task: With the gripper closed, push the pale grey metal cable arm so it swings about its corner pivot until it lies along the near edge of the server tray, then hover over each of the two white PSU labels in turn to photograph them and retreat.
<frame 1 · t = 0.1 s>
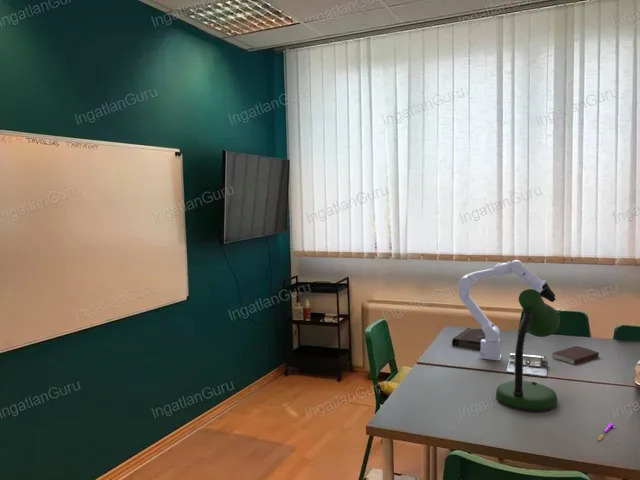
hand: (554, 299, 244), 32 cm above the table, tool tilted 50°, fingers open, 7 cm apart
cable arm: (528, 357, 248), point 3 cm above the table, hinge at 0.0°
purple handled tool: (607, 435, 178), on the table
diary: (475, 343, 285), on the table
book: (575, 358, 256), on the table
server tray: (527, 368, 243), on the table
desk lamp: (530, 397, 210), on the table
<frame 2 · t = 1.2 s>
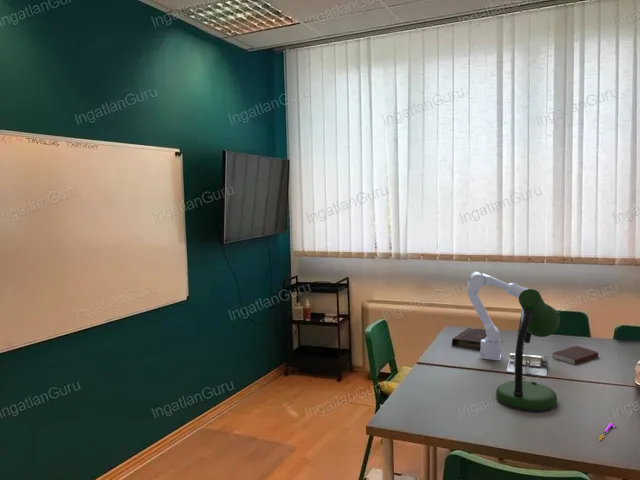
hand: (527, 340, 254), 9 cm above the table, tool pointing down, fingers open, 7 cm apart
nothing on the table moved.
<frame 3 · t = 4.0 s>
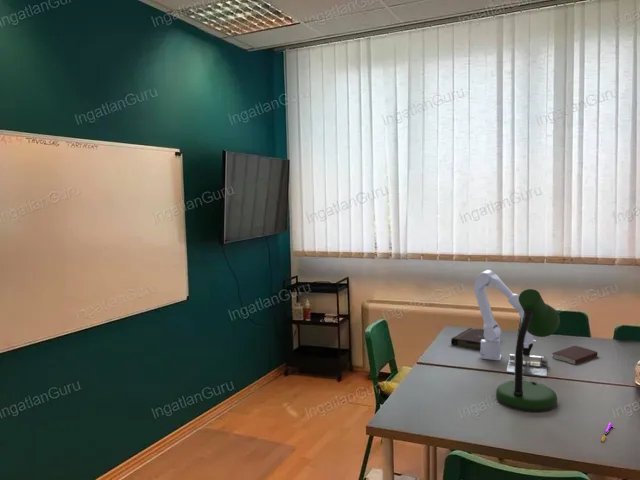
hand: (526, 358, 249), 3 cm above the table, tool pointing down, fingers closed, pressing on cable arm
cable arm: (528, 358, 247), point 3 cm above the table, hinge at 5.1°, touching gripper
everything else where it was.
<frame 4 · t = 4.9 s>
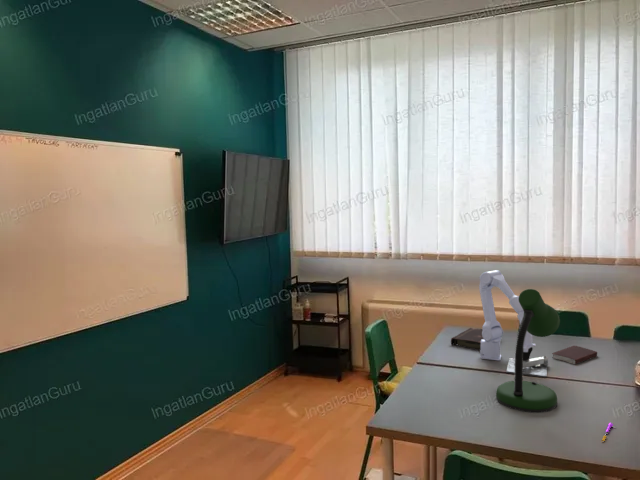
hand: (525, 362, 243), 3 cm above the table, tool pointing down, fingers closed, pressing on cable arm
cable arm: (533, 361, 242), point 3 cm above the table, hinge at 48.4°, touching gripper
everything else where it was.
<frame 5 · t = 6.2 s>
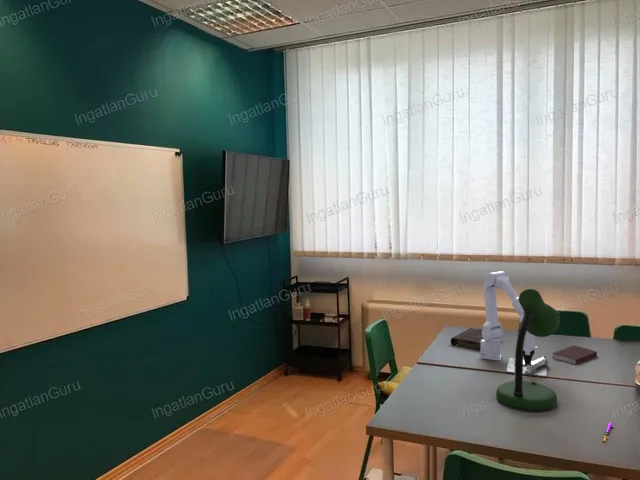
hand: (527, 365, 239), 3 cm above the table, tool pointing down, fingers closed, pressing on cable arm
cable arm: (537, 362, 240), point 3 cm above the table, hinge at 65.2°, touching gripper
everything else where it was.
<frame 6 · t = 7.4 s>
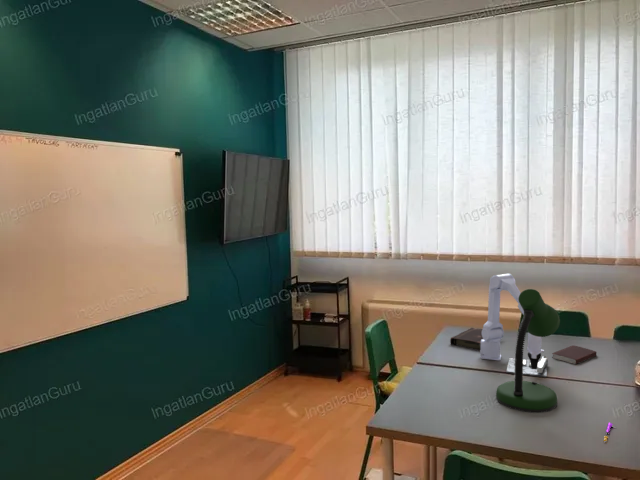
hand: (534, 368, 234), 3 cm above the table, tool pointing down, fingers closed, pressing on cable arm
cable arm: (542, 363, 239), point 3 cm above the table, hinge at 82.4°, touching gripper
everything else where it was.
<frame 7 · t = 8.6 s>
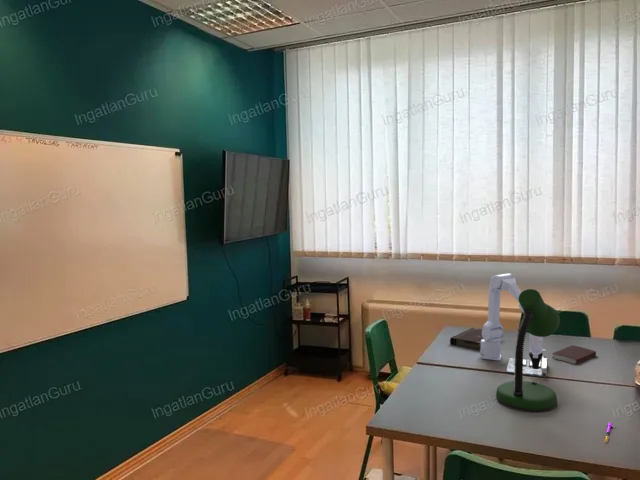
hand: (535, 368, 235), 3 cm above the table, tool pointing down, fingers closed
cable arm: (544, 364, 238), point 3 cm above the table, hinge at 89.5°
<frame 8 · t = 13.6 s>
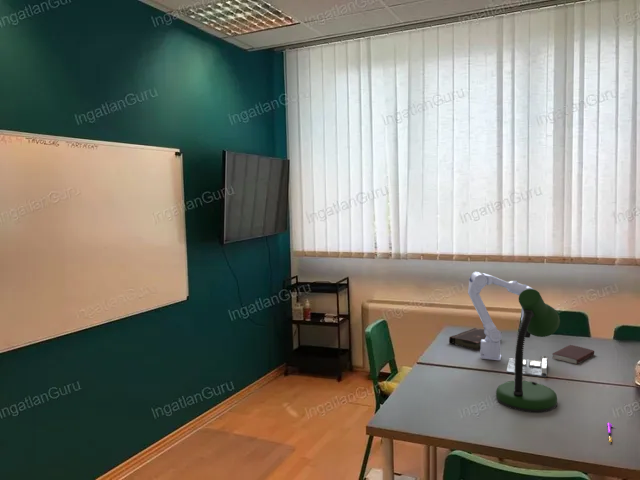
hand: (527, 337, 256), 10 cm above the table, tool pointing down, fingers closed
at the end: cable arm at +90° (first picture: +0°) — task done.
